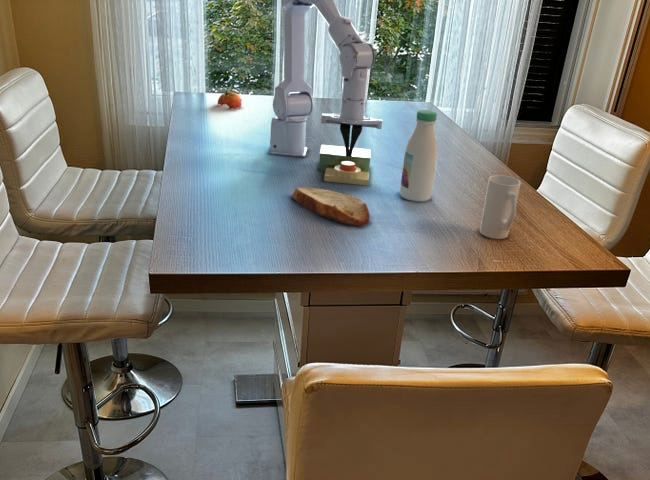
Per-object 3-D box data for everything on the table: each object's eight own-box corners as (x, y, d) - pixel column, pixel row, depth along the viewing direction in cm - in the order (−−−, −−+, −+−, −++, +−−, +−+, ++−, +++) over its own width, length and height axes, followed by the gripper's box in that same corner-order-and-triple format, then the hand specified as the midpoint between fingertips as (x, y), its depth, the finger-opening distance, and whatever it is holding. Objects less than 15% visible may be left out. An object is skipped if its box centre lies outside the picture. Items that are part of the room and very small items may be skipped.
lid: (370, 160, 178) (370, 158, 178) (319, 155, 178) (319, 153, 178) (370, 151, 185) (370, 149, 184) (321, 147, 184) (321, 144, 184)
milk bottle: (434, 195, 172) (447, 111, 162) (426, 204, 166) (439, 118, 155) (404, 189, 174) (415, 105, 163) (395, 198, 168) (406, 112, 157)
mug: (473, 227, 156) (483, 174, 149) (500, 227, 158) (512, 175, 151) (492, 246, 148) (504, 191, 141) (521, 245, 149) (533, 191, 143)
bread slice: (293, 193, 164) (294, 177, 162) (369, 200, 165) (371, 185, 163) (284, 221, 149) (285, 204, 147) (368, 229, 150) (370, 212, 148)
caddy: (368, 175, 181) (370, 159, 179) (318, 170, 181) (319, 154, 178) (368, 167, 187) (370, 152, 185) (320, 162, 187) (321, 147, 184)
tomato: (217, 97, 232) (231, 82, 228) (233, 112, 235) (247, 98, 231) (212, 106, 226) (227, 91, 222) (229, 122, 229) (243, 107, 225)
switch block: (323, 182, 173) (324, 170, 172) (325, 173, 179) (326, 161, 178) (368, 186, 173) (369, 174, 172) (368, 177, 180) (369, 165, 178)
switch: (339, 171, 173) (340, 164, 172) (340, 167, 176) (341, 160, 175) (354, 173, 173) (355, 166, 172) (354, 168, 176) (355, 161, 175)
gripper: (321, 98, 162) (318, 157, 169) (384, 104, 162) (378, 163, 170) (324, 92, 168) (320, 149, 175) (384, 98, 168) (378, 154, 175)
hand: (348, 155), depth 173 cm, fingers closed
